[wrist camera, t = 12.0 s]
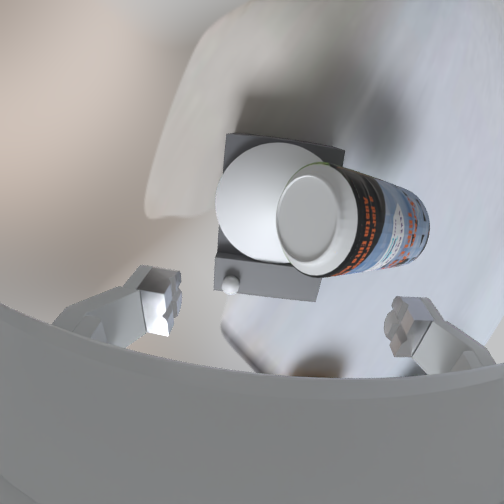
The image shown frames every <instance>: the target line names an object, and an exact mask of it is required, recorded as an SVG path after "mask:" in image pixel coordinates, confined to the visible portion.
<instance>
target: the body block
mask: <svg viewBox="0 0 504 504" xmlns="http://www.w3.org/2000/svg"><path fill="white" fill-rule="evenodd" d="M344 154H345V150H342V149H339V148H335V147H332V146H327V145H321V144H316V143H310V142H304V141H298V140H291V139H284V138H276V137H269V136H260V135H251V134H240V133H230V134H226V144H225V155H224V166H223V175H222V177H221V179H220V182H219V184H218V187H217V191H216V198H215V209H216V215H217V219H218V222H219V233H218V249H217V254H216V257H215V272H214V290H218V291H224V292H225V293H226V294H229V295H233V294H235V293H240V294H248V295H256V296H264V297H273V298H281V299H290V300H300V301H309V302H316V298H317V295H318V291H319V287H320V283H321V280H322V278H313V277H309V276H306V275H304V274H302V273H301V272H299V271H298V270H296V269H295V268H294V267H293V266H292V265H291V263H290V262H289V261H288V259H287V258H286V256H285V254H284V252H283V249H282V247H281V244H280V241H279V239H278V235H277V229H276V211H277V206H278V202H279V199H280V196H281V194H282V192H283V190H284V188H285V186H286V185H287V183H288V181H289V180H290V179H291V177H292V176H293V175H294V174H295V173H296V172H297V171H298V170H299V169H301V168H302V167H304V166H306V165H308V164H311V163H314V162H327V163H331V164H335V165H338V166H341V167H342V166H343V160H344Z"/></svg>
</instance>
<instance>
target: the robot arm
mask: <svg viewBox="0 0 504 504" xmlns="http://www.w3.org/2000/svg"><path fill="white" fill-rule="evenodd" d="M180 283H181V273H180V271H177V270H171V269H165V268H159V267H153V266H148V265H140V266H139V267H138V268H137V269H136V271H135V272H134V273H133V275H132V276H131V277H130V278H129V279H128V280H127V282H126V283H125V284H124V285H123V287H121V286H118V287H116V288H113V289H110V290H108V291H105V292H103V293H100V294H98V295H95V296H93V297H90V298H88V299H85V300H83V301H80V302H78V303H76V304H73V305H70V306H68V307H66V308H65V309H64V311H63V312H62V313H61V314H60V315H59V316H58V317H57V318H56V320H55V321H54V322H53V323H52V324H48V323H46V322H43V321H41V320H38V319H36V318H34V317H31V316H29V315H26V314H24V313H22V312H19V311H17V310H15V309H13V308H10V307H8V306H6V305H4V304H2V303H0V504H504V363H500V364H496V363H495V361H494V359H493V358H492V356H491V354H490V353H489V351H488V350H487V348H486V347H484V346H483V345H481V344H480V343H479V342H477V341H476V340H474V339H473V338H471V337H470V336H468V335H467V334H466V333H464V332H463V331H461V330H460V329H458V328H457V327H455V326H454V325H452V324H451V323H449V322H448V321H444V319H443V318H442V316H441V315H440V313H439V312H438V310H437V309H436V307H435V306H434V304H433V303H432V302H431V300H430V299H429V298H427V297H400V296H396V298H395V299H394V300H393V303H392V309H393V310H392V311H391V312H389V313H388V314H387V317H386V319H385V322H384V333H385V335H386V337H387V338H388V339H389V340H390V341H391V343H390V348H391V350H392V353H393V355H394V357H412V359H413V360H414V361H415V362H416V363H417V364H418V365H419V366H420V367H421V368H422V369H423V370H424V371H425V372H426V374H427V375H420V376H407V377H389V378H315V377H296V376H283V375H271V374H261V373H252V372H244V371H236V370H229V369H222V368H216V367H210V366H204V365H198V364H192V363H187V362H182V361H177V360H172V359H167V358H163V357H158V356H154V355H150V354H145V353H141V352H137V351H133V350H129V349H126V347H127V346H129V345H130V344H132V343H133V342H134V341H136V340H137V339H139V338H140V337H142V336H143V335H144V334H146V332H149V333H154V334H159V335H165V336H169V334H170V332H171V330H172V327H173V325H174V318H175V317H177V316H178V314H179V312H180V308H181V303H182V292H181V290H180V289H179V285H180Z"/></svg>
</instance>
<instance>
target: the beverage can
mask: <svg viewBox="0 0 504 504" xmlns="http://www.w3.org/2000/svg"><path fill="white" fill-rule="evenodd" d="M276 229H277V235H278V239H279V241H280V244H281V247H282V249H283V252H284V254H285V256H286V258H287V259H288V261H289V262H290V263H291V265H292V266H293V267H294V268H295V269H296V270H298V271H299V272H301V273H302V274H304V275H306V276H309V277H313V278H324V277H331V276H338V275H345V274H352V273H359V272H366V271H372V270H379V269H385V268H391V267H397V266H403V265H406V264H409V263H411V262H412V261H414V260H415V259H416V258H417V257H418V256H419V255H420V254H421V253H422V251H423V250H424V248H425V246H426V244H427V241H428V238H429V231H430V223H429V217H428V213H427V211H426V208H425V206H424V205H423V203H422V201H421V200H420V199H419V198H418V197H417V196H416V195H415V194H413V193H412V192H410V191H408V190H407V189H404V188H402V187H399V186H396V185H394V184H391V183H388V182H386V181H383V180H380V179H377V178H374V177H372V176H369V175H366V174H363V173H360V172H357V171H354V170H351V169H348V168H344V167H341V166H338V165H335V164H331V163H327V162H314V163H311V164H308V165H306V166H304V167H302V168H301V169H299V170H298V171H297V172H296V173H295V174H294V175H293V176H292V177H291V179H290V180H289V181H288V183H287V185H286V186H285V188H284V190H283V192H282V194H281V196H280V199H279V202H278V206H277V211H276Z"/></svg>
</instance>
